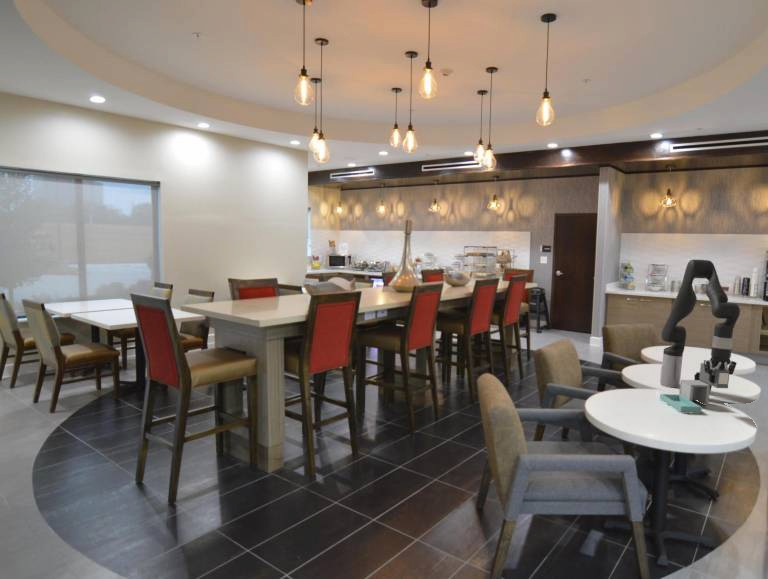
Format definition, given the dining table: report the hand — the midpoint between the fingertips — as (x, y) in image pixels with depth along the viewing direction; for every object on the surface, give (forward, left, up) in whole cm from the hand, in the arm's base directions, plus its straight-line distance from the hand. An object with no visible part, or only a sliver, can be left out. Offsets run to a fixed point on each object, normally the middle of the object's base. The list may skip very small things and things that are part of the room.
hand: (717, 382), depth 233 cm
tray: (-10, -10, -15) cm, 21 cm away
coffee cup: (-24, +9, -15) cm, 30 cm away
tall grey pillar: (-3, 0, -1) cm, 4 cm away
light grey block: (-16, 0, -15) cm, 22 cm away
